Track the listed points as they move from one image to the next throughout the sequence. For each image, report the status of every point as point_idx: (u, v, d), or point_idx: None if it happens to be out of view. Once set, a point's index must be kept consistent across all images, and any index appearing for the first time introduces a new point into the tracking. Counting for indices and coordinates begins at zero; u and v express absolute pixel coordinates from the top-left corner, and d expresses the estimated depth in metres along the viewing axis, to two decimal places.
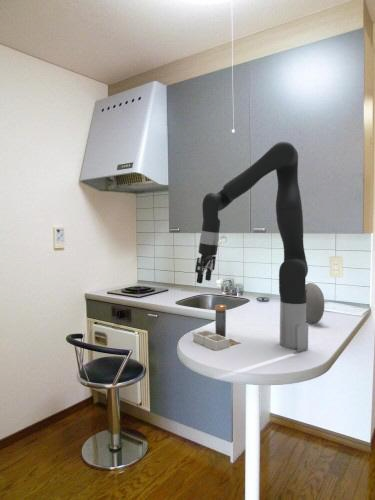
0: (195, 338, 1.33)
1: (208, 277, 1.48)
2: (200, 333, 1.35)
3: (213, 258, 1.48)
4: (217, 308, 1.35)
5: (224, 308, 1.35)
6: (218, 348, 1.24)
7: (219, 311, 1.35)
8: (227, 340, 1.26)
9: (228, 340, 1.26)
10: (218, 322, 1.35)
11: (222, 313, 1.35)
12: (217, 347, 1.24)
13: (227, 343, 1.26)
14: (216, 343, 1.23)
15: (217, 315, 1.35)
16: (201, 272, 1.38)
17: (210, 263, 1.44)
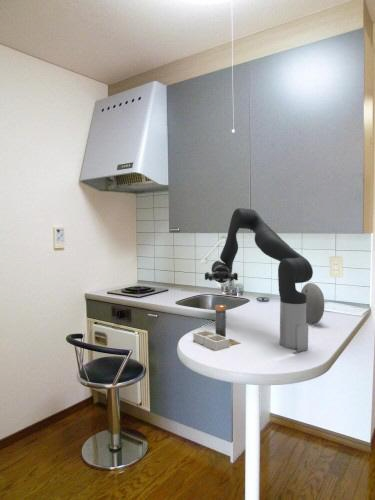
0: (195, 338, 1.33)
1: (230, 277, 1.48)
2: (200, 333, 1.35)
3: None
4: (217, 308, 1.35)
5: (224, 308, 1.35)
6: (218, 348, 1.24)
7: (219, 311, 1.35)
8: (227, 340, 1.26)
9: (228, 340, 1.26)
10: (218, 322, 1.35)
11: (222, 313, 1.35)
12: (217, 347, 1.24)
13: (227, 343, 1.26)
14: (216, 343, 1.23)
15: (217, 315, 1.35)
16: (206, 274, 1.52)
17: (224, 273, 1.54)
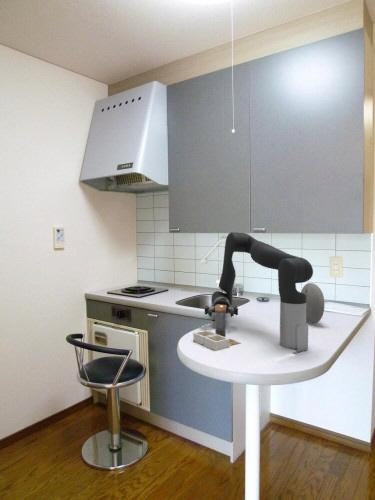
0: (195, 338, 1.33)
1: (230, 313, 1.46)
2: (200, 333, 1.35)
3: None
4: (217, 308, 1.35)
5: (224, 308, 1.35)
6: (218, 348, 1.24)
7: (219, 311, 1.35)
8: (227, 340, 1.26)
9: (228, 340, 1.26)
10: (218, 322, 1.35)
11: (222, 313, 1.35)
12: (217, 347, 1.24)
13: (227, 343, 1.26)
14: (216, 343, 1.23)
15: (217, 315, 1.35)
16: (206, 308, 1.50)
17: None
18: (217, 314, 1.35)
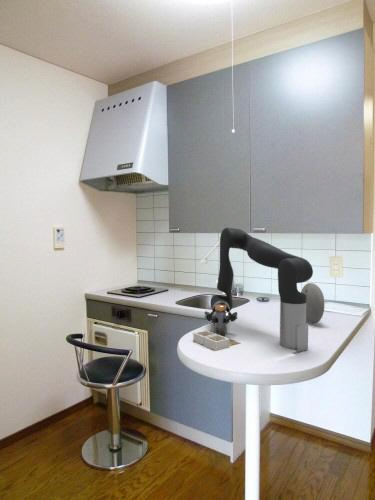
0: (195, 338, 1.33)
1: None
2: (200, 333, 1.35)
3: None
4: (217, 308, 1.35)
5: (224, 308, 1.35)
6: (218, 348, 1.24)
7: (219, 311, 1.35)
8: (227, 340, 1.26)
9: (228, 340, 1.26)
10: (218, 322, 1.35)
11: (222, 313, 1.35)
12: (217, 347, 1.24)
13: (227, 343, 1.26)
14: (216, 343, 1.23)
15: (217, 315, 1.35)
16: (209, 314, 1.39)
17: None
18: (217, 314, 1.35)
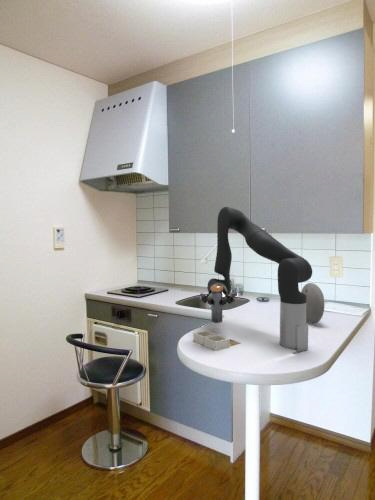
0: (195, 338, 1.33)
1: None
2: (200, 333, 1.35)
3: None
4: (213, 289, 1.25)
5: (221, 289, 1.25)
6: (218, 348, 1.24)
7: (215, 292, 1.25)
8: (227, 340, 1.26)
9: (228, 340, 1.26)
10: (214, 303, 1.25)
11: (218, 294, 1.25)
12: (217, 347, 1.24)
13: (227, 343, 1.26)
14: (216, 343, 1.23)
15: (213, 296, 1.26)
16: (205, 296, 1.29)
17: None
18: (213, 295, 1.26)
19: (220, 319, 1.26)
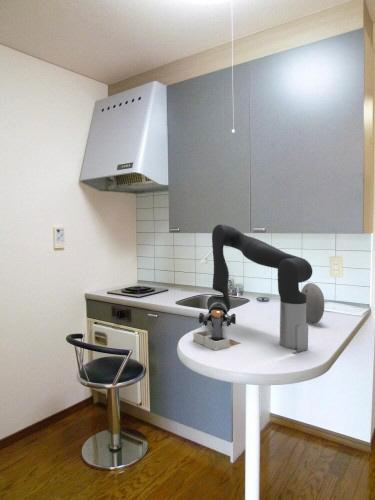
0: (195, 338, 1.33)
1: (226, 321, 1.26)
2: (200, 333, 1.35)
3: (232, 315, 1.34)
4: (213, 314, 1.26)
5: (221, 314, 1.26)
6: (218, 348, 1.24)
7: (215, 317, 1.25)
8: (227, 340, 1.26)
9: (228, 340, 1.26)
10: (214, 329, 1.26)
11: (218, 319, 1.25)
12: (217, 347, 1.24)
13: (227, 343, 1.26)
14: (216, 343, 1.23)
15: (213, 321, 1.26)
16: (201, 316, 1.30)
17: None
18: (213, 320, 1.26)
19: None
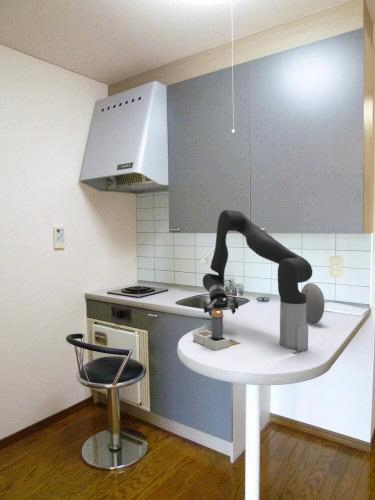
0: (195, 338, 1.33)
1: (231, 309, 1.40)
2: (200, 333, 1.35)
3: None
4: (213, 314, 1.25)
5: (221, 314, 1.25)
6: (218, 348, 1.24)
7: (215, 317, 1.25)
8: (227, 340, 1.26)
9: (228, 340, 1.26)
10: (214, 329, 1.26)
11: (218, 319, 1.25)
12: (217, 347, 1.24)
13: (227, 343, 1.26)
14: (216, 343, 1.23)
15: (213, 321, 1.26)
16: (205, 307, 1.43)
17: (223, 301, 1.46)
18: (213, 320, 1.26)
19: None
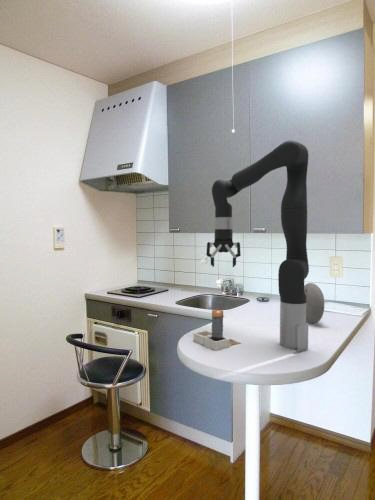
0: (195, 338, 1.33)
1: None
2: (200, 333, 1.35)
3: (237, 244, 1.46)
4: (214, 314, 1.26)
5: (221, 314, 1.26)
6: (218, 348, 1.24)
7: (216, 317, 1.25)
8: (227, 340, 1.26)
9: (228, 340, 1.26)
10: (215, 329, 1.26)
11: (218, 319, 1.25)
12: (217, 347, 1.24)
13: (227, 343, 1.26)
14: (216, 343, 1.23)
15: (214, 321, 1.26)
16: (208, 255, 1.47)
17: (226, 248, 1.46)
18: (214, 320, 1.26)
19: None
